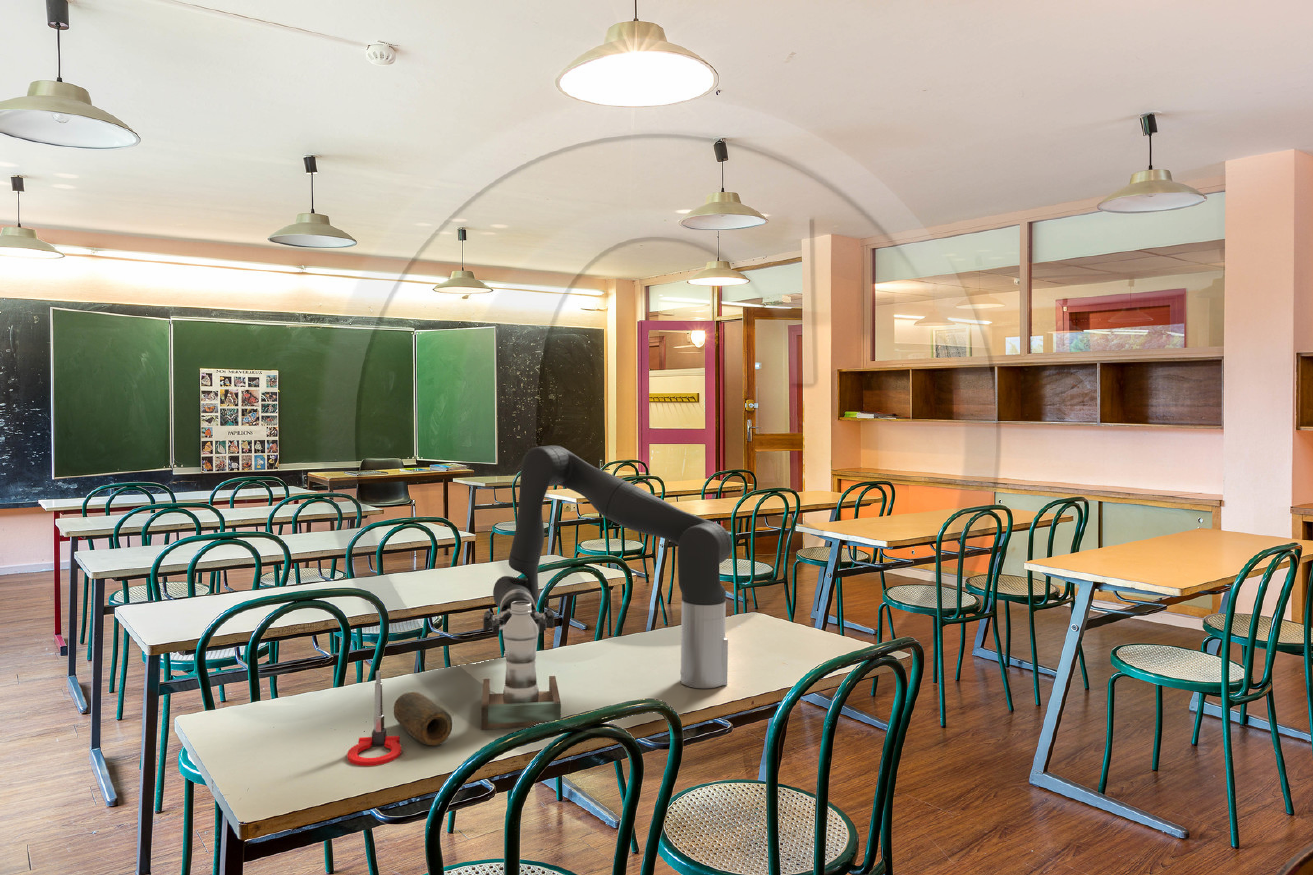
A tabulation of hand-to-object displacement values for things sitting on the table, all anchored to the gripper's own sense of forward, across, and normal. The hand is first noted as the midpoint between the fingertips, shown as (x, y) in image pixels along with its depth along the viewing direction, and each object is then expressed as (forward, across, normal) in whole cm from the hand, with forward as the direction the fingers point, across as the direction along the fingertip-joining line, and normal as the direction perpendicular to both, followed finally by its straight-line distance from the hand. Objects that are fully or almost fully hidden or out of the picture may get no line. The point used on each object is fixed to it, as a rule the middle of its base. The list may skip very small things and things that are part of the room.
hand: (519, 628), depth 169 cm
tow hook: (+24, -24, +14) cm, 37 cm away
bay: (+8, 0, +14) cm, 16 cm away
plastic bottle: (+10, 0, +13) cm, 16 cm away
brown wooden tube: (+17, -17, +14) cm, 28 cm away
